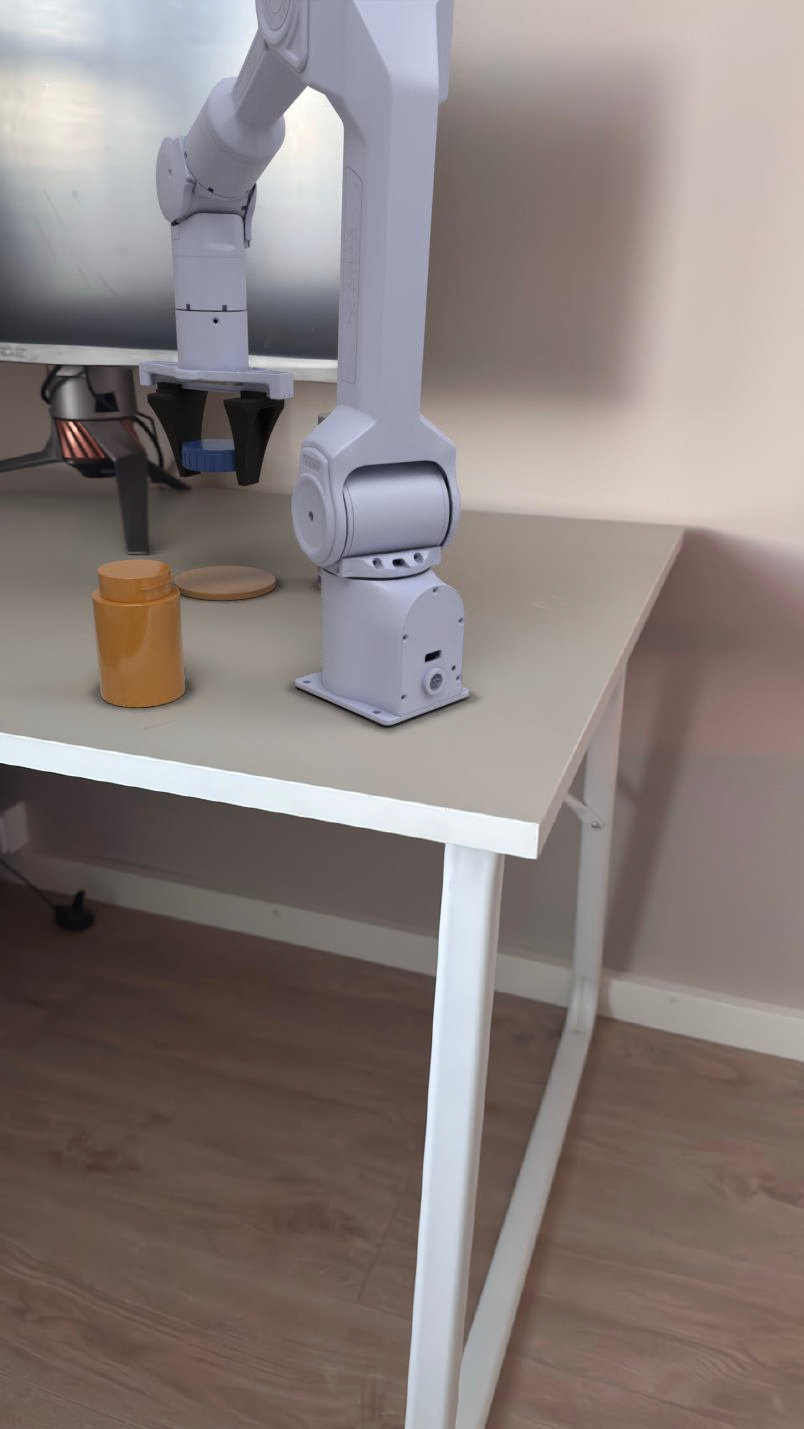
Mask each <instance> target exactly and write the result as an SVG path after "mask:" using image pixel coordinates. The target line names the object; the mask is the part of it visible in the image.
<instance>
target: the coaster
mask: <svg viewBox="0 0 804 1429" xmlns="http://www.w3.org/2000/svg"><path fill="white" fill-rule="evenodd" d="M173 578H174V579H173V585H174V586H175V587H177V588H178V589H179V591H180V595H182V596H184V597H188V598H193V599H197V600H206V601H236V600H237V601H238V600H247V599H251V598H257V597H260V596H263V595H266V594H268V593H271V592H272V591H273V590H275V588H276V586H277V585H276V584H277V583H276V582H277V580H276V576H275V575H274V574H273V573H271V572H269V571H267V570H264V569H261V568H258V567H257V568H256V567H251V566H241V565H214V566H204V567H198V568H193V569H189V570H186V571H183V572H181V573H179V574H177V575H176V576H175V577H173Z"/></svg>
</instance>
